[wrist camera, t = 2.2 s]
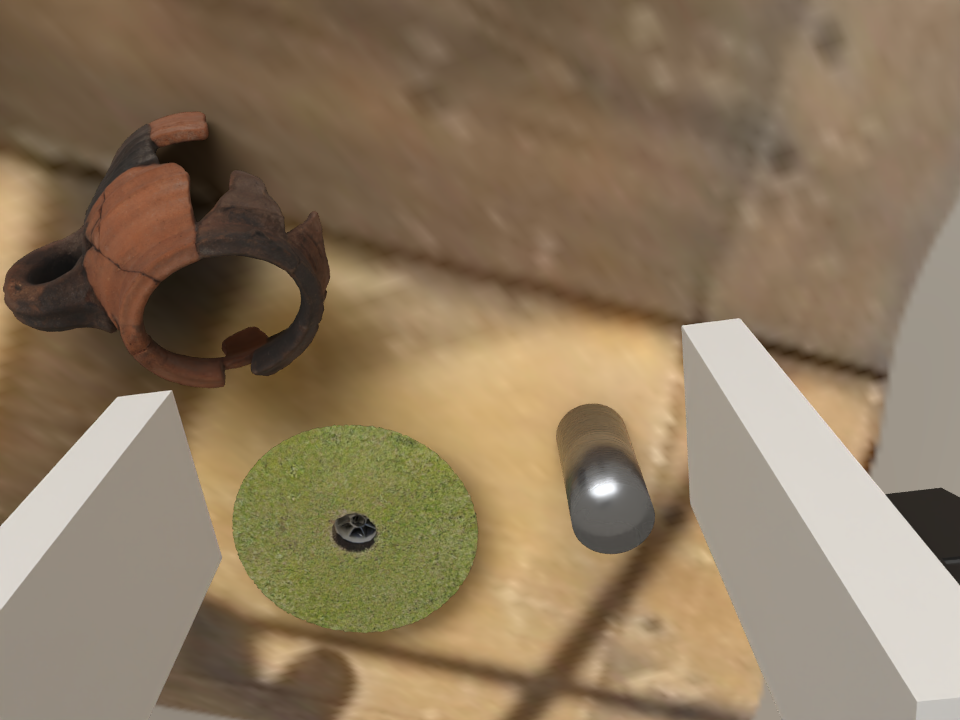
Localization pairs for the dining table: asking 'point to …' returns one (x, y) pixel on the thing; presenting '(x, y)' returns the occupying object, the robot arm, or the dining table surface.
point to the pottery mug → (168, 258)
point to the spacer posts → (603, 480)
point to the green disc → (355, 528)
